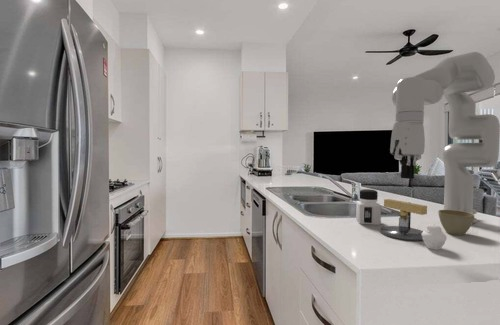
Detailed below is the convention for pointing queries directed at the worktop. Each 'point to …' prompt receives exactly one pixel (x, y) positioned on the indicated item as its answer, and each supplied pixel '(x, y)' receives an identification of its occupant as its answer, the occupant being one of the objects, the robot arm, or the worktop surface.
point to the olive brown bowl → (456, 221)
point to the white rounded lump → (434, 237)
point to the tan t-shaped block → (405, 207)
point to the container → (368, 208)
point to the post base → (402, 235)
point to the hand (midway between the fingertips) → (407, 178)
